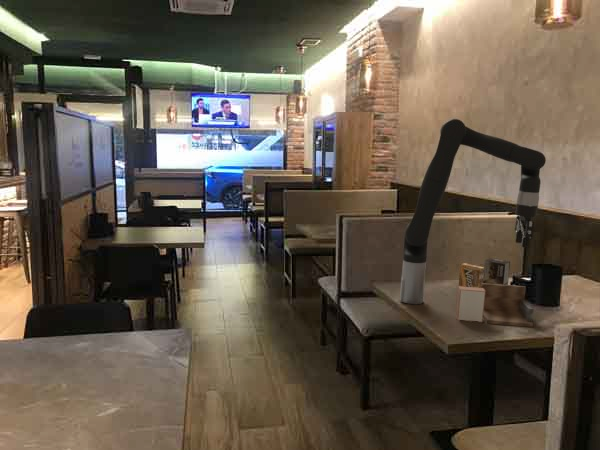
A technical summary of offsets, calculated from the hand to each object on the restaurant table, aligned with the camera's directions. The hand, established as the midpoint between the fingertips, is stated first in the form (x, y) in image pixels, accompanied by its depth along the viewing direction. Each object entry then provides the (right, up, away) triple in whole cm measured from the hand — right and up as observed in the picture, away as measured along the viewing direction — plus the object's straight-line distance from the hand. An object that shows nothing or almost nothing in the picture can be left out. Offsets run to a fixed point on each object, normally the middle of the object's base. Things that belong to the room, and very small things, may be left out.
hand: (521, 245), depth 189 cm
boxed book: (-22, -28, -6) cm, 36 cm away
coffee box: (-2, -24, +23) cm, 33 cm away
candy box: (-15, -24, +16) cm, 33 cm away
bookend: (-8, -28, -3) cm, 29 cm away
